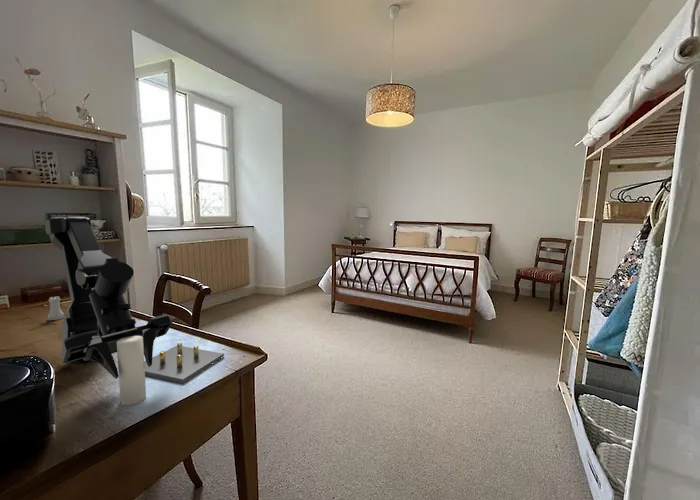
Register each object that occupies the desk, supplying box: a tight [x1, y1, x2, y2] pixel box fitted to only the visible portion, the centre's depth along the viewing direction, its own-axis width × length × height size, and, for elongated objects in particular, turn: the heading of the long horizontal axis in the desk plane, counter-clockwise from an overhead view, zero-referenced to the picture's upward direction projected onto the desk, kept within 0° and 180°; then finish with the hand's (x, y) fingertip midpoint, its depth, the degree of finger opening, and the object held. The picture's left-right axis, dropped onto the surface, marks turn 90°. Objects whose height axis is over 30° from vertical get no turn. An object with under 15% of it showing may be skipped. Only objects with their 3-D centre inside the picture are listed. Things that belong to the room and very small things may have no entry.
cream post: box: [116, 336, 147, 406], centre depth 64 cm, size 4×4×13 cm
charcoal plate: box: [144, 342, 225, 384], centre depth 79 cm, size 16×14×4 cm
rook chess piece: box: [47, 295, 65, 321], centre depth 109 cm, size 4×4×8 cm
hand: (134, 371), depth 63 cm, fingers open, 6 cm apart
